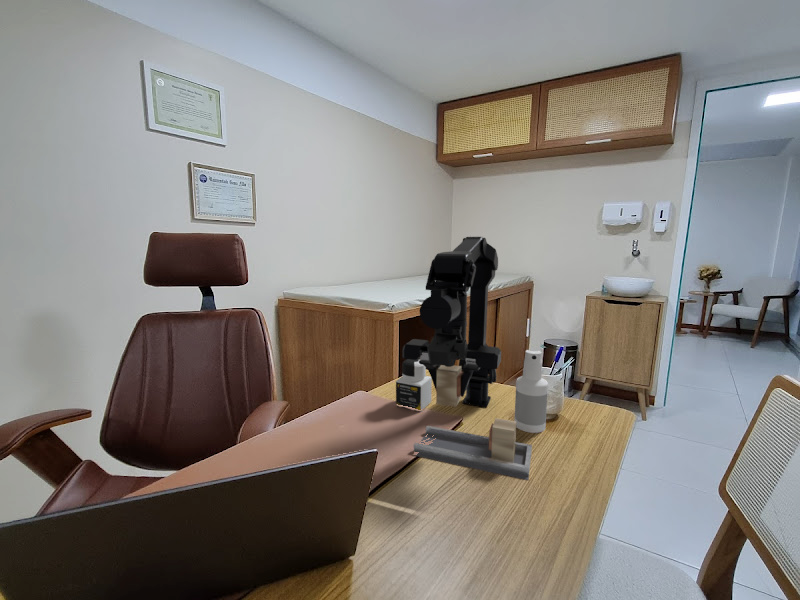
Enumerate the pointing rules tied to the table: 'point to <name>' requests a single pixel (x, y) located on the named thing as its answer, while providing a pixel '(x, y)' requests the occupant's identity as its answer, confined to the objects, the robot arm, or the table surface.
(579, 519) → the table surface
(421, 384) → the medicine bottle
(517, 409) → the spray bottle
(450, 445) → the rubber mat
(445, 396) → the beech finger
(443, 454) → the grey tray
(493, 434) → the beige upright rectangular block
